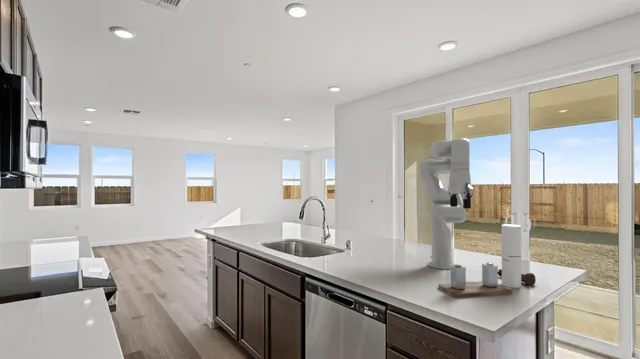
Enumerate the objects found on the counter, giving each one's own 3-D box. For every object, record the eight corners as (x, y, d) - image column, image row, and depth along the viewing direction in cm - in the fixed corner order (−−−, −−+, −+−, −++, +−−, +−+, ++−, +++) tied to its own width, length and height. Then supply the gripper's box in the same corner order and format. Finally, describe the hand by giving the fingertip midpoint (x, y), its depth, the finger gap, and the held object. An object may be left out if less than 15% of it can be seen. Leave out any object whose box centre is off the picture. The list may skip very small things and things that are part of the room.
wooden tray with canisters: (438, 287, 138) (438, 262, 138) (491, 284, 142) (491, 259, 142) (455, 298, 126) (455, 269, 126) (511, 294, 130) (511, 266, 130)
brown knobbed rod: (500, 280, 154) (533, 289, 141) (493, 276, 152) (526, 284, 139) (504, 268, 156) (537, 276, 142) (497, 264, 154) (530, 271, 140)
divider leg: (482, 283, 137) (482, 262, 137) (491, 283, 138) (491, 262, 138) (488, 286, 133) (488, 264, 133) (497, 286, 134) (497, 264, 134)
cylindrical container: (521, 288, 137) (520, 227, 137) (501, 285, 141) (500, 225, 140) (521, 283, 143) (521, 224, 143) (502, 281, 147) (502, 223, 147)
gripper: (441, 168, 153) (441, 206, 153) (464, 167, 136) (464, 209, 136) (456, 168, 154) (456, 205, 154) (480, 167, 137) (480, 209, 137)
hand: (460, 207), depth 145 cm, fingers open, 9 cm apart
